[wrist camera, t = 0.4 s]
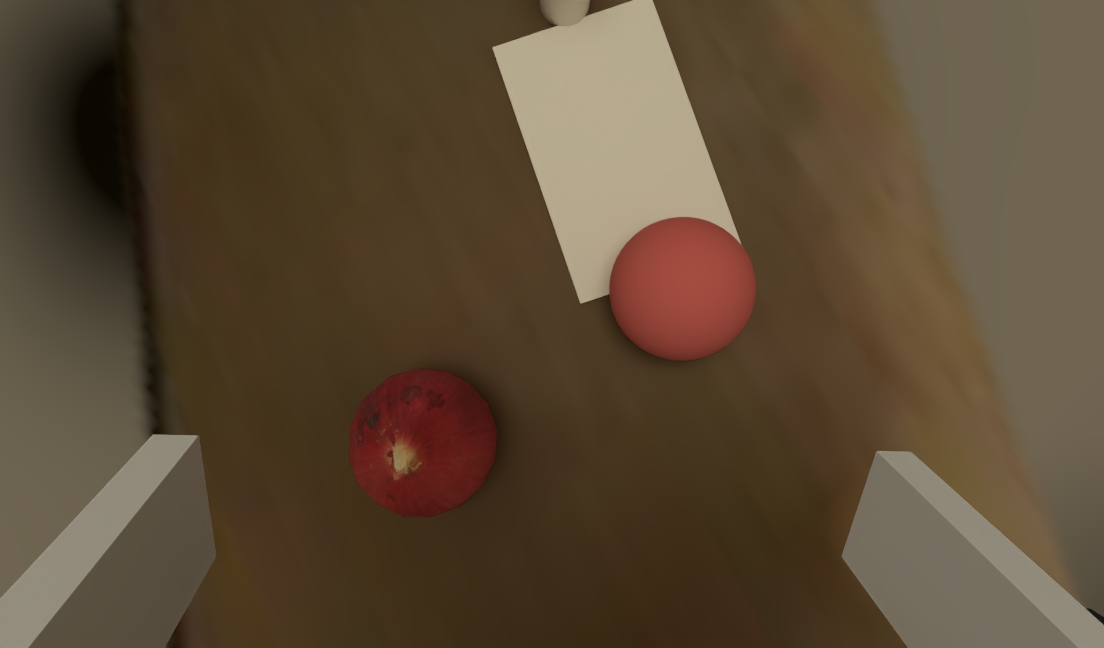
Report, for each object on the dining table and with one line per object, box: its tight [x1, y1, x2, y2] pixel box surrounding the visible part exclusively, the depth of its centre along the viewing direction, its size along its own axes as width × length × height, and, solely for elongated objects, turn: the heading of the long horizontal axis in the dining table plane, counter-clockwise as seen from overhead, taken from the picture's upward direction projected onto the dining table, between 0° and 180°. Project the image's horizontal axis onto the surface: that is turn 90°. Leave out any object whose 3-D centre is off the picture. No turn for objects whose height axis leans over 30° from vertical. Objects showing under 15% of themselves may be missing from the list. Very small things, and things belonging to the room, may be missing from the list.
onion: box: [349, 368, 498, 517], centre depth 25 cm, size 6×6×8 cm
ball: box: [609, 217, 756, 361], centre depth 26 cm, size 6×6×6 cm
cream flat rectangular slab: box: [492, 0, 741, 304], centre depth 29 cm, size 13×8×1 cm, turn 19°
